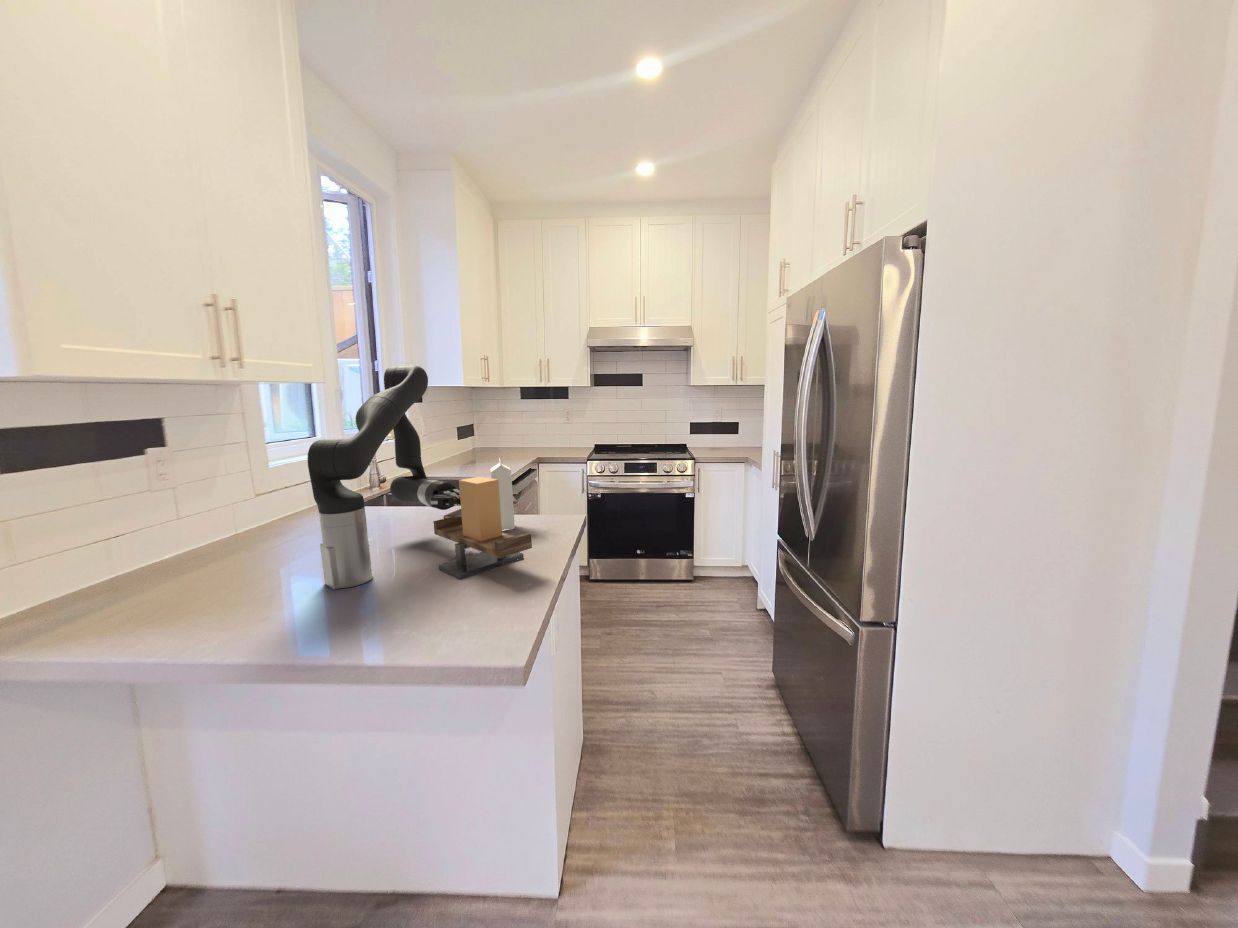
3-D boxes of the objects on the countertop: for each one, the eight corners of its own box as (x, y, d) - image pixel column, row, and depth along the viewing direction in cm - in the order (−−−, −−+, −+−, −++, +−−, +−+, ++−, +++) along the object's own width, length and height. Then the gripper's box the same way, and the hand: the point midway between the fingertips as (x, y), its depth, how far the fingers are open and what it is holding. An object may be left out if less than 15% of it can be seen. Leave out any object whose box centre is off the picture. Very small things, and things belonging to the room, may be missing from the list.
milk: (495, 532, 153) (489, 461, 149) (494, 527, 158) (488, 458, 155) (515, 530, 154) (510, 459, 151) (513, 524, 160) (508, 457, 156)
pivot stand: (523, 558, 128) (521, 533, 127) (460, 579, 115) (457, 552, 114) (501, 550, 135) (499, 527, 134) (439, 569, 122) (436, 543, 121)
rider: (480, 541, 119) (476, 483, 117) (463, 535, 124) (458, 480, 122) (502, 535, 123) (498, 479, 121) (484, 529, 128) (480, 476, 126)
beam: (532, 551, 117) (531, 533, 117) (499, 562, 111) (498, 543, 110) (465, 529, 138) (464, 514, 137) (434, 537, 131) (433, 521, 131)
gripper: (412, 484, 131) (445, 492, 120) (457, 477, 141) (492, 483, 129) (415, 512, 132) (448, 522, 121) (460, 502, 142) (494, 511, 130)
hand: (471, 502), depth 125 cm, fingers closed
